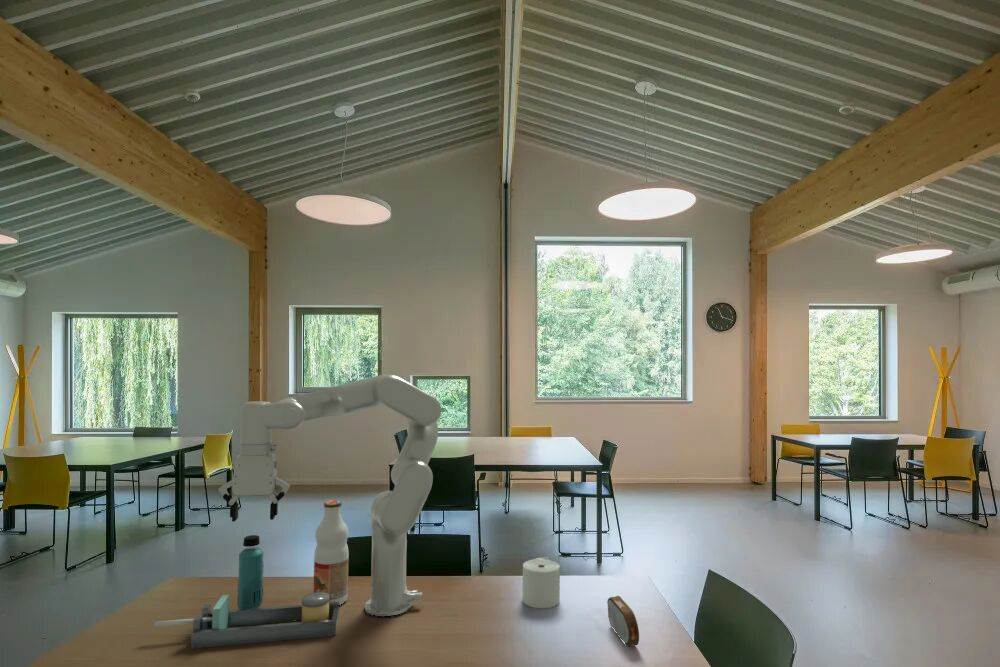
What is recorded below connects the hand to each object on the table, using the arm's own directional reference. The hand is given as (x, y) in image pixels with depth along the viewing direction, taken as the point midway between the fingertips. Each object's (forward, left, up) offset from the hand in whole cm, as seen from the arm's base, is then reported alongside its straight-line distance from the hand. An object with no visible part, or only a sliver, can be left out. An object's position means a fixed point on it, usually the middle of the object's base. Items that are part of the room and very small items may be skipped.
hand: (253, 518), depth 142 cm
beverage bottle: (+3, -13, -28) cm, 31 cm away
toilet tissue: (-77, -5, -28) cm, 82 cm away
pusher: (+14, 0, -28) cm, 31 cm away
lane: (-4, 0, -28) cm, 28 cm away
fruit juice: (-18, -15, -28) cm, 37 cm away
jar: (-16, 0, -28) cm, 32 cm away
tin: (-91, +20, -28) cm, 97 cm away
